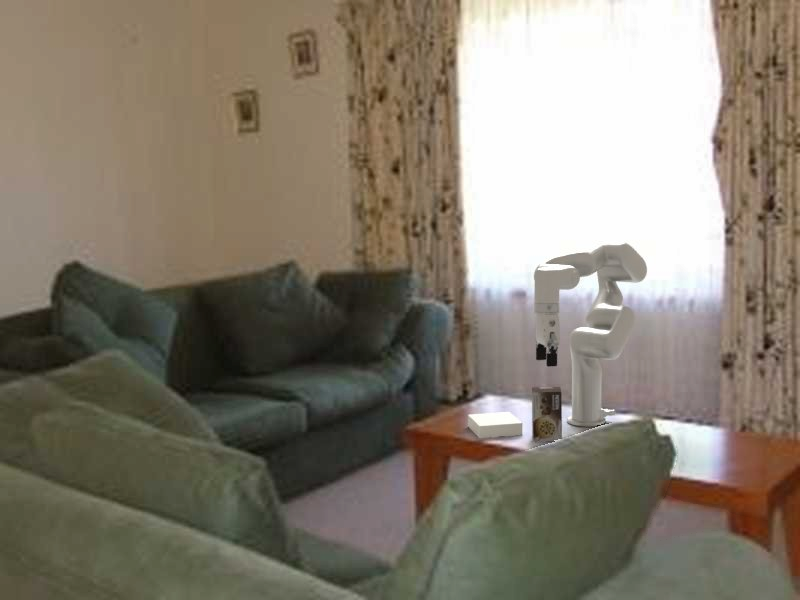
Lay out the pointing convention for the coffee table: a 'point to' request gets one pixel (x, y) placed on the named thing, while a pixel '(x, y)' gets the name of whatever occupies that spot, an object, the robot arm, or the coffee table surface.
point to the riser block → (494, 424)
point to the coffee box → (546, 413)
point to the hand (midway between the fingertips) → (546, 363)
